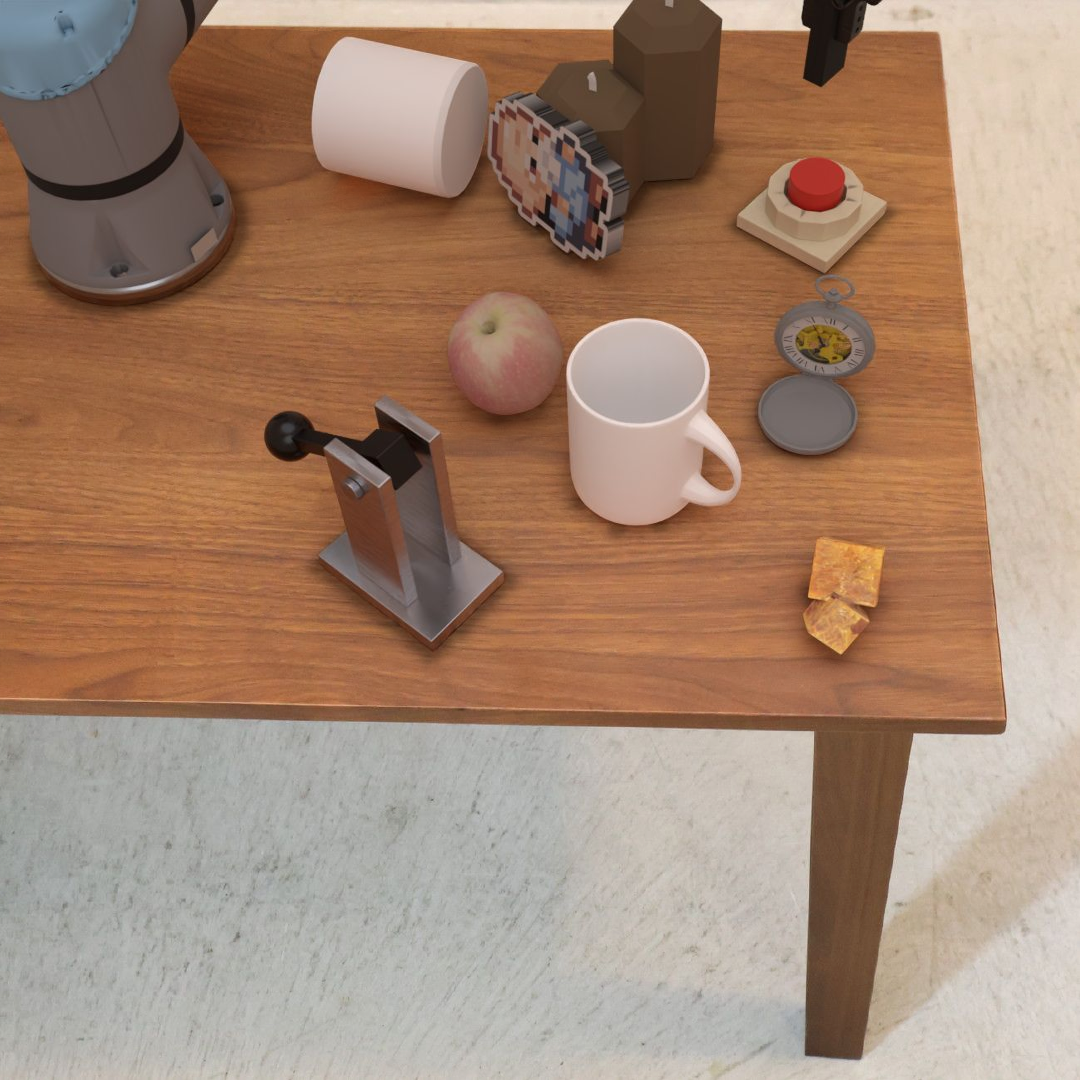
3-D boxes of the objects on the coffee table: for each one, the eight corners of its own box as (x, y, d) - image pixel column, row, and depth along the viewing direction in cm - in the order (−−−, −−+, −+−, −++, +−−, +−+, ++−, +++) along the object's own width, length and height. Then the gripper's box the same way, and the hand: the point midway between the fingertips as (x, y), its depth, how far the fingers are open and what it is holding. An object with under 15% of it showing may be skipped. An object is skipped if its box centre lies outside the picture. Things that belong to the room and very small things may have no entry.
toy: (617, 274, 103) (633, 159, 95) (602, 282, 102) (617, 166, 94) (501, 180, 109) (507, 65, 101) (486, 187, 108) (491, 71, 101)
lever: (272, 468, 89) (245, 429, 87) (308, 437, 90) (282, 398, 88) (393, 502, 78) (366, 458, 76) (432, 466, 79) (406, 422, 78)
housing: (735, 226, 105) (738, 196, 103) (797, 169, 108) (801, 138, 106) (824, 274, 102) (829, 243, 99) (885, 213, 105) (891, 183, 103)
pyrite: (868, 651, 86) (801, 637, 87) (889, 545, 85) (822, 532, 86) (864, 661, 81) (793, 646, 82) (887, 549, 80) (815, 535, 82)
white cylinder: (448, 72, 98) (316, 44, 100) (433, 211, 103) (307, 182, 105) (507, 51, 109) (386, 26, 111) (491, 178, 114) (375, 151, 116)
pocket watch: (777, 470, 92) (793, 370, 84) (734, 377, 97) (745, 273, 88) (893, 440, 93) (920, 339, 85) (844, 350, 98) (866, 245, 89)
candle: (702, 90, 114) (713, -81, 101) (723, 205, 106) (738, 36, 94) (536, 101, 114) (526, -68, 101) (544, 218, 106) (535, 51, 94)
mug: (695, 579, 88) (705, 477, 79) (544, 489, 92) (537, 383, 83) (769, 489, 91) (786, 382, 82) (620, 406, 96) (621, 297, 87)
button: (776, 196, 103) (778, 178, 101) (807, 167, 104) (810, 149, 103) (821, 220, 101) (824, 202, 100) (852, 190, 103) (856, 172, 101)
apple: (472, 343, 100) (462, 262, 93) (576, 360, 98) (573, 279, 92) (439, 428, 95) (427, 349, 89) (547, 447, 94) (543, 369, 87)
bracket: (320, 565, 90) (277, 431, 78) (392, 500, 92) (360, 361, 81) (433, 651, 86) (405, 524, 74) (504, 581, 88) (488, 447, 77)
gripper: (1028, -288, 73) (937, 83, 93) (822, -357, 78) (776, 8, 98) (952, -228, 70) (874, 142, 90) (743, -305, 75) (712, 62, 95)
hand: (823, 72), depth 94 cm, fingers closed
